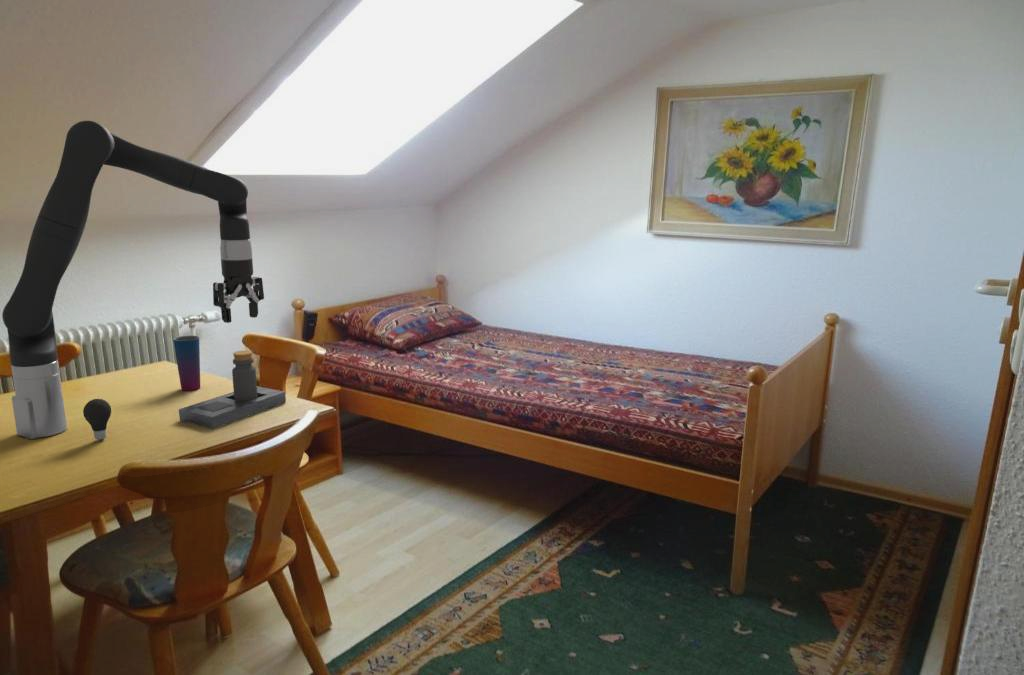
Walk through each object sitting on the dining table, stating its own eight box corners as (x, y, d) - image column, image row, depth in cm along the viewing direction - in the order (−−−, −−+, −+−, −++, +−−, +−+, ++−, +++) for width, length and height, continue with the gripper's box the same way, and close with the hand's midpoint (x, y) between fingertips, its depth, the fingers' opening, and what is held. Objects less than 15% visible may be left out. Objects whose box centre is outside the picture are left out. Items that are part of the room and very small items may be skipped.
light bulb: (108, 434, 170) (103, 394, 168) (118, 440, 167) (114, 398, 164) (82, 440, 166) (77, 399, 164) (92, 446, 162) (87, 404, 160)
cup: (172, 390, 205) (167, 339, 201) (189, 384, 211) (184, 334, 208) (192, 393, 203) (187, 341, 199) (208, 386, 209) (204, 336, 206)
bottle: (230, 408, 190) (225, 353, 186) (247, 402, 195) (243, 348, 192) (246, 411, 187) (241, 356, 184) (263, 405, 192) (259, 351, 189)
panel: (212, 428, 174) (211, 416, 174) (179, 420, 180) (178, 408, 179) (285, 402, 195) (285, 391, 195) (254, 395, 201) (253, 385, 200)
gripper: (224, 260, 174) (228, 326, 178) (268, 255, 187) (272, 316, 190) (203, 258, 178) (207, 322, 181) (248, 254, 190) (251, 314, 194)
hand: (240, 319), depth 186 cm, fingers open, 8 cm apart
